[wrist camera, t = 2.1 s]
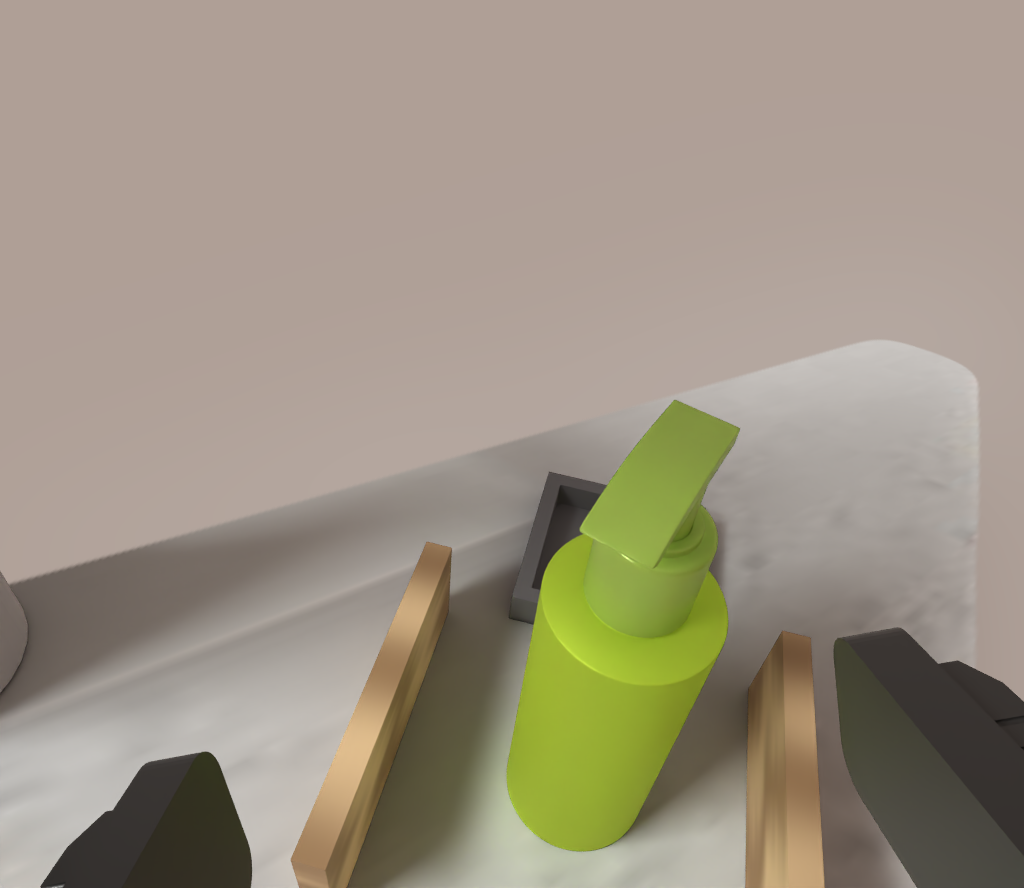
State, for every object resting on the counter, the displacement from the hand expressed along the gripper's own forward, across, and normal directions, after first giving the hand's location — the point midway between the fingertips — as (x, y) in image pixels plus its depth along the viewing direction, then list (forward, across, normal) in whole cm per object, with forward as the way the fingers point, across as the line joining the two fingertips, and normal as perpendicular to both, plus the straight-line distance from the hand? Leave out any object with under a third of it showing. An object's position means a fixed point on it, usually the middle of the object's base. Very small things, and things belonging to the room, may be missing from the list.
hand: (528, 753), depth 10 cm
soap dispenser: (+19, +1, +17) cm, 25 cm away
